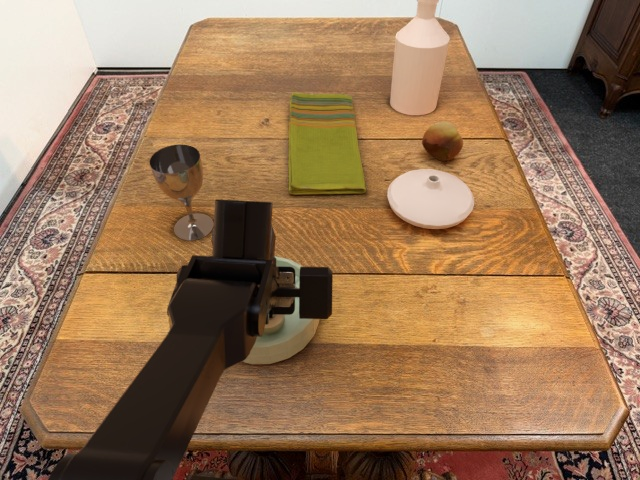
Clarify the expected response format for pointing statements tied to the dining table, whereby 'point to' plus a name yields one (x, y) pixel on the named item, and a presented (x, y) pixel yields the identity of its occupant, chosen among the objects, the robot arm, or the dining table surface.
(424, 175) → the flat round vase
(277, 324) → the beige piece
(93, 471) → the robot arm
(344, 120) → the dish towel
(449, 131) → the fruit
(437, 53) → the bottle
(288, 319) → the bowl
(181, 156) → the wine glass
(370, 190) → the dining table surface
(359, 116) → the dining table surface
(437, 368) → the dining table surface
